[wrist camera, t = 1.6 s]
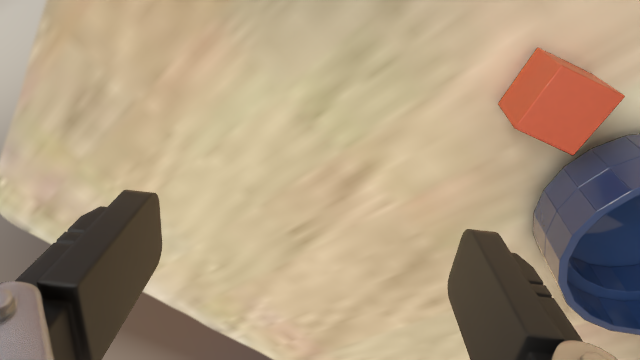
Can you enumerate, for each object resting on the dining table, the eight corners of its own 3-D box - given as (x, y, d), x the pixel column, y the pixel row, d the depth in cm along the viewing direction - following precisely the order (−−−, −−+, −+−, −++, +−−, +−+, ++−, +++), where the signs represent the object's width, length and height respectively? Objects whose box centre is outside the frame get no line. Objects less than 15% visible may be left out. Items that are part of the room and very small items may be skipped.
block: (537, 46, 28) (561, 64, 24) (593, 74, 29) (626, 96, 25) (497, 103, 31) (513, 128, 27) (549, 128, 31) (573, 156, 27)
